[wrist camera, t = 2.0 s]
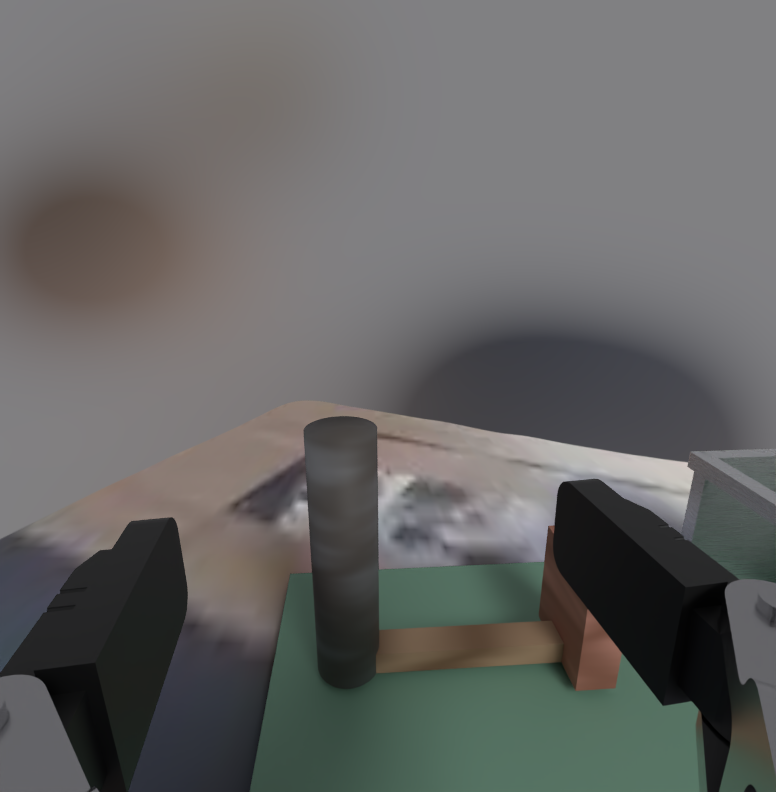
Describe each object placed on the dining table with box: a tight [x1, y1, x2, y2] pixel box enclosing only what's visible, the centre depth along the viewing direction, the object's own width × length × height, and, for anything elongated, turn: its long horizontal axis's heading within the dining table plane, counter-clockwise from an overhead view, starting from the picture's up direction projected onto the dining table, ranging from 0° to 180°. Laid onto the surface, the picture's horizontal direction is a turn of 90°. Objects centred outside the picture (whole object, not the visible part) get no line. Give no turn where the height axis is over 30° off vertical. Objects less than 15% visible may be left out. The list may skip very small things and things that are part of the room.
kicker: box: [304, 416, 622, 691], centre depth 24 cm, size 15×5×13 cm, turn 94°
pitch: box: [250, 562, 776, 792], centre depth 27 cm, size 34×16×1 cm, turn 94°
